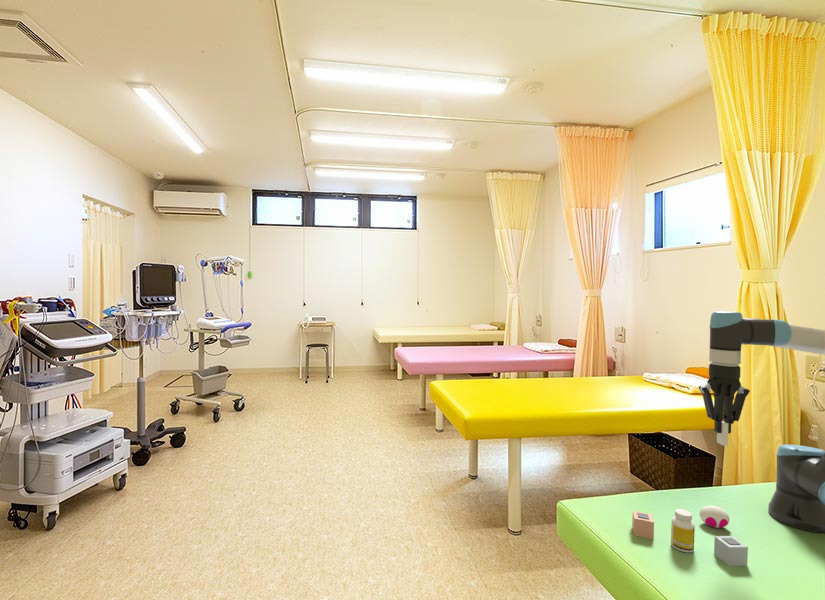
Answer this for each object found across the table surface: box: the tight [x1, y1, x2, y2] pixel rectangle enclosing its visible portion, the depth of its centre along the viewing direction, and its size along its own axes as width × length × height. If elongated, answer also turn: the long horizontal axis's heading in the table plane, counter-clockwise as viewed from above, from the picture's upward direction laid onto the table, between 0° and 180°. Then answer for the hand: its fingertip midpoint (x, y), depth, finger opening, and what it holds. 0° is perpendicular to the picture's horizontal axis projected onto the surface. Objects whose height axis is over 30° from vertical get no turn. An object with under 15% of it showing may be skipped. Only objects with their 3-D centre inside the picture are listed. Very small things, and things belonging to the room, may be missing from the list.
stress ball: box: [699, 505, 730, 531], centre depth 129 cm, size 8×8×7 cm
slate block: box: [713, 535, 749, 567], centre depth 113 cm, size 5×5×5 cm
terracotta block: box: [631, 510, 655, 540], centre depth 125 cm, size 5×5×5 cm
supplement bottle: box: [670, 508, 696, 553], centre depth 118 cm, size 5×5×10 cm
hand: (722, 443), depth 126 cm, fingers closed
